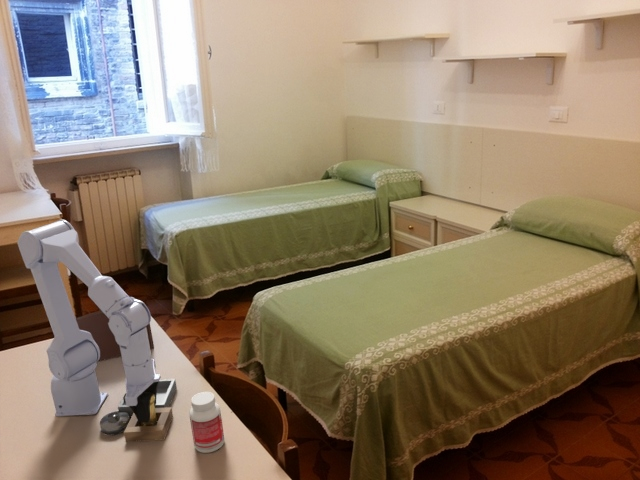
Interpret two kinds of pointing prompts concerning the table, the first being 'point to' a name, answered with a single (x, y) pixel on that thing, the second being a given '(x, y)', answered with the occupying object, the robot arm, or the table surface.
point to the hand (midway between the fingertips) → (147, 414)
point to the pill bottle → (206, 422)
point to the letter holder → (104, 334)
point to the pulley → (114, 422)
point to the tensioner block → (149, 427)
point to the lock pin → (151, 413)
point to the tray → (157, 396)
